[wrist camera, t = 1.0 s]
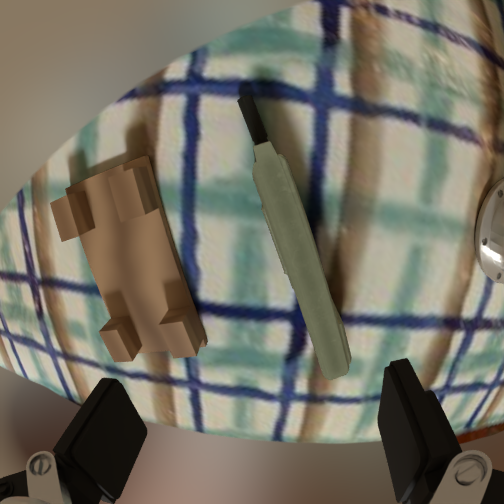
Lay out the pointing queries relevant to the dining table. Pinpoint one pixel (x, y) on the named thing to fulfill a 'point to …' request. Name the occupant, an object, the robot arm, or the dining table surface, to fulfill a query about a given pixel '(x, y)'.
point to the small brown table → (132, 261)
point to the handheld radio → (296, 247)
